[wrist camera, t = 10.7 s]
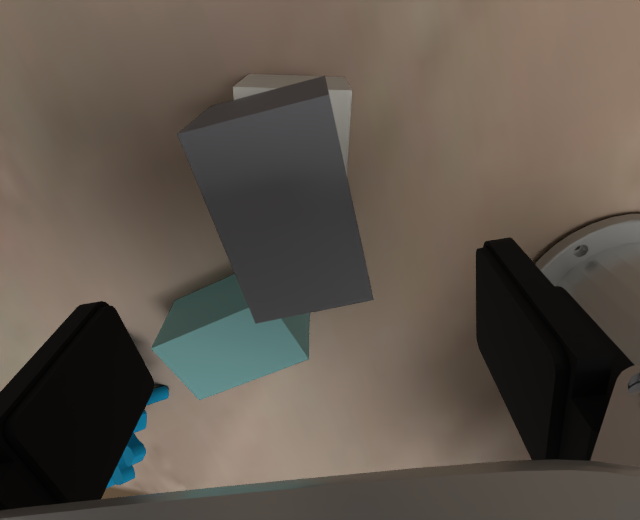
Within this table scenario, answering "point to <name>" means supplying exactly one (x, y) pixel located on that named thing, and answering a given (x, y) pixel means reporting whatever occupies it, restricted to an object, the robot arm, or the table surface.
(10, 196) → the table surface
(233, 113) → the charcoal block
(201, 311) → the teal block
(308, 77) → the cream block
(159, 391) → the gear
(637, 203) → the table surface
